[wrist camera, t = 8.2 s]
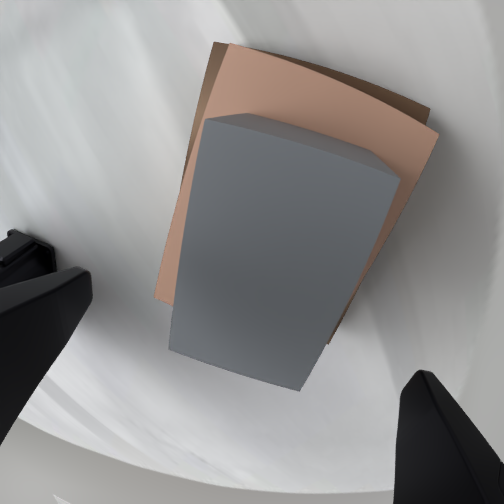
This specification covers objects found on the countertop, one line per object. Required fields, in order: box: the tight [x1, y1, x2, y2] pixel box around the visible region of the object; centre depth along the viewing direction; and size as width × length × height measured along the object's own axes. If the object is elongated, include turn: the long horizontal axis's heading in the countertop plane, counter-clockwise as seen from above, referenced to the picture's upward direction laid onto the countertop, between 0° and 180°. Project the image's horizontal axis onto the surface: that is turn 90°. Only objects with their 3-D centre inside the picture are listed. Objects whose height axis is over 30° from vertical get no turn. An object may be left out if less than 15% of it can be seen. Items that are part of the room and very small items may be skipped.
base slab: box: [180, 42, 430, 345], centre depth 18 cm, size 15×11×3 cm
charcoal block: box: [169, 113, 401, 391], centre depth 11 cm, size 8×5×5 cm, turn 166°
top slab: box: [154, 43, 439, 306], centre depth 15 cm, size 13×9×3 cm
